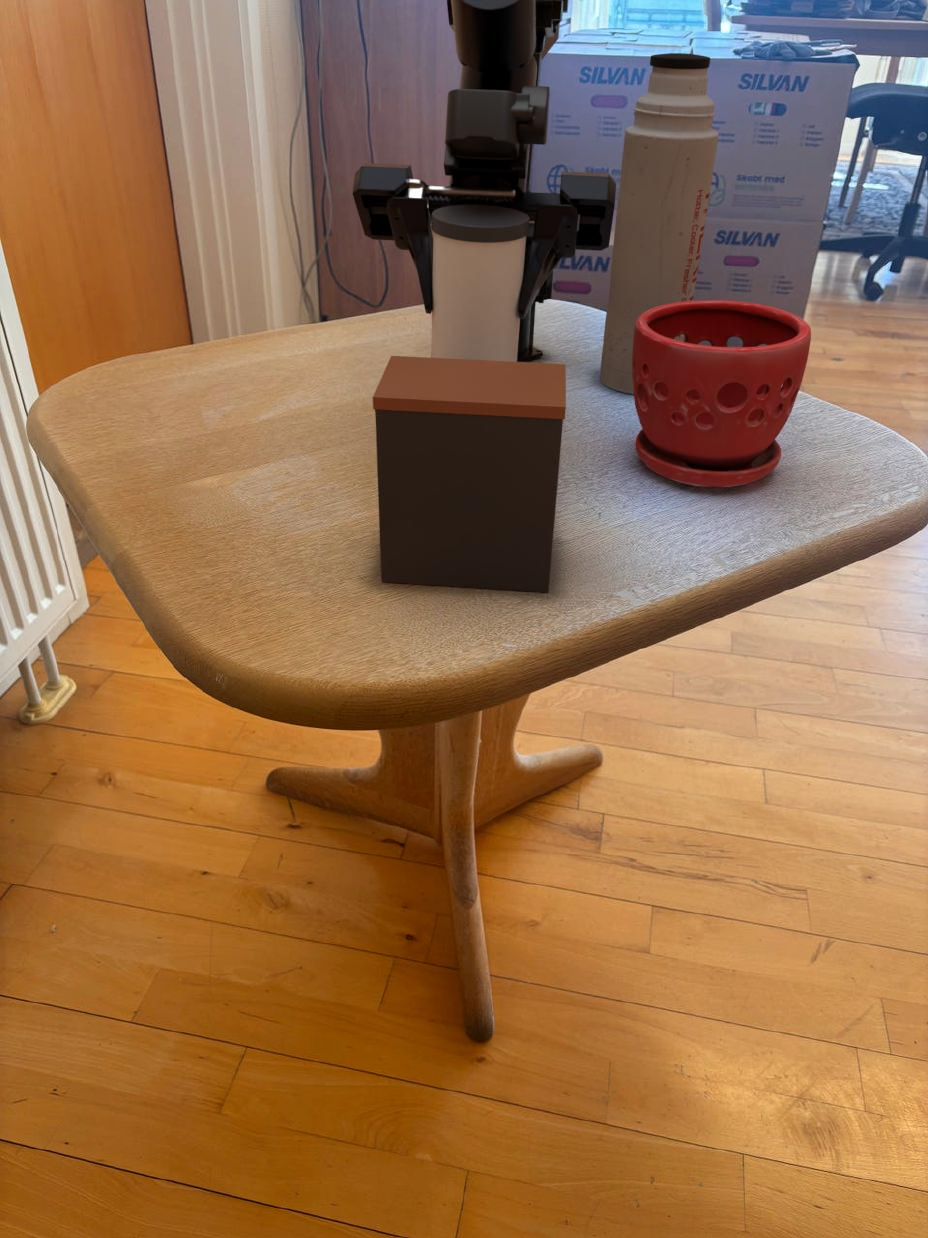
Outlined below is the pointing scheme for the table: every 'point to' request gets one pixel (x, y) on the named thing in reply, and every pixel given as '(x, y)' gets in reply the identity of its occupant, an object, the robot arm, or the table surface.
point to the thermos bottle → (659, 204)
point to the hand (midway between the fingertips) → (474, 313)
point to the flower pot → (715, 389)
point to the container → (477, 281)
